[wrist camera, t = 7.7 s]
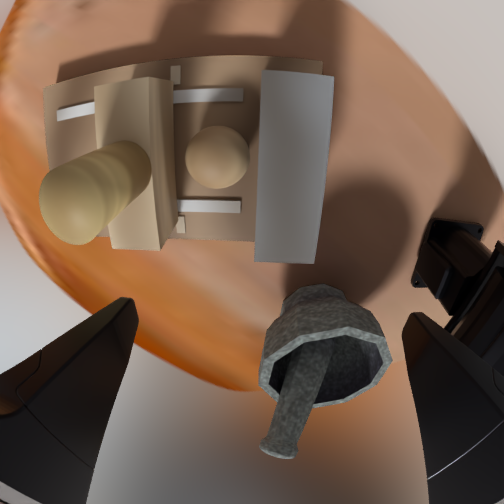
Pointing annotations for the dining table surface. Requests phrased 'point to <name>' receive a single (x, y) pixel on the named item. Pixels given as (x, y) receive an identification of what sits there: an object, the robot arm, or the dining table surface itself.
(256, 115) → the base
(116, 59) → the dining table surface
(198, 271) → the dining table surface
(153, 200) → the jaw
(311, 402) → the mortar and pestle
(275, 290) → the dining table surface
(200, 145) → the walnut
